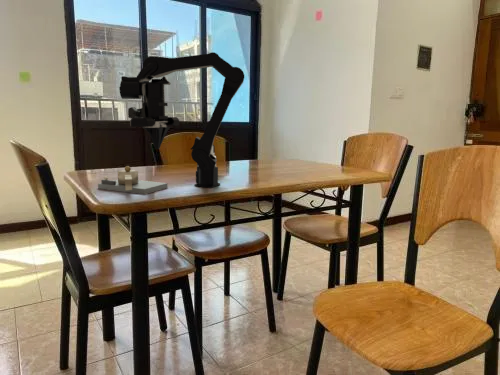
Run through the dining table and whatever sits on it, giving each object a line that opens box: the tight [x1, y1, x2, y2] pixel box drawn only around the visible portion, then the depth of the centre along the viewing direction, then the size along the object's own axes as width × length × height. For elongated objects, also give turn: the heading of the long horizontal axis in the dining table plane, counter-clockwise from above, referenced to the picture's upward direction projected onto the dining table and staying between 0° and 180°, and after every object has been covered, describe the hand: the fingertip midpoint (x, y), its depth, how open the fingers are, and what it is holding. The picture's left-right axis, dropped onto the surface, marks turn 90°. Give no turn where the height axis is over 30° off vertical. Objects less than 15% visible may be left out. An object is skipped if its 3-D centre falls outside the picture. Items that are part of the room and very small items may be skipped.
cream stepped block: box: [117, 165, 139, 190], centre depth 114 cm, size 16×6×5 cm, turn 18°
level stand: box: [97, 175, 169, 195], centre depth 119 cm, size 18×11×4 cm, turn 66°
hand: (157, 149), depth 123 cm, fingers closed
